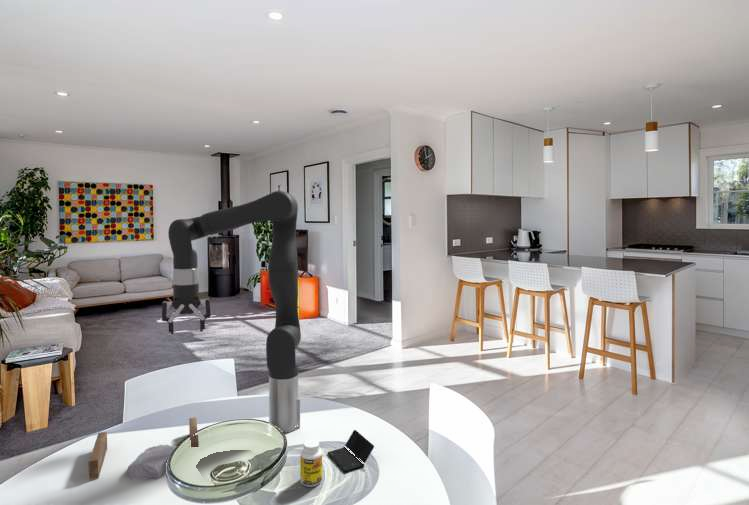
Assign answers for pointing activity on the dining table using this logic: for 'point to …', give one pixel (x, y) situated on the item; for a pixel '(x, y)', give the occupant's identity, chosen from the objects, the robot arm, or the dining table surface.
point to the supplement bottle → (311, 464)
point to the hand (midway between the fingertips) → (186, 332)
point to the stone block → (151, 462)
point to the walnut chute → (101, 449)
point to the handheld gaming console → (348, 460)
